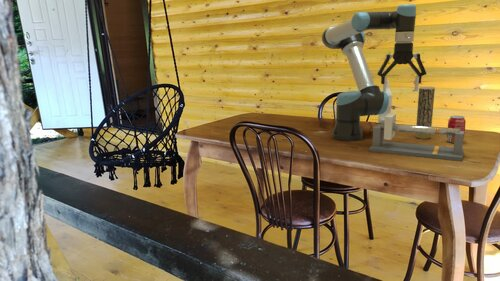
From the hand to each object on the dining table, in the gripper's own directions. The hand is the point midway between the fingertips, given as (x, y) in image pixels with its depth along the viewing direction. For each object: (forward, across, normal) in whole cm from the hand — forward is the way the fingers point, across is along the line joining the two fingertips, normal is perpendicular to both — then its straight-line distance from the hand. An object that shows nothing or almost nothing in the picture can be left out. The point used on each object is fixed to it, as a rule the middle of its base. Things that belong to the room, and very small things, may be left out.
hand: (400, 91), depth 162 cm
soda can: (+25, +28, +5) cm, 38 cm away
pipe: (+16, +5, -11) cm, 21 cm away
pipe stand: (+25, +5, -12) cm, 28 cm away
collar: (+19, -5, -7) cm, 21 cm away
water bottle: (+26, +4, +47) cm, 54 cm away
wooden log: (+25, +16, +13) cm, 33 cm away
